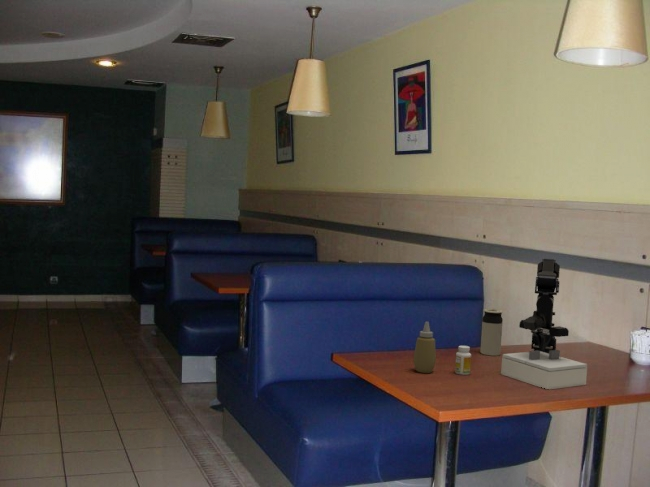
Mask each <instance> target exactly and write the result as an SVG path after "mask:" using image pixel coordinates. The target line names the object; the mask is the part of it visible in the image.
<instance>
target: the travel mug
mask: <svg viewBox="0 0 650 487" xmlns="http://www.w3.org/2000/svg"><path fill="white" fill-rule="evenodd" d="M483 312H484V315H483V317H482V321H481V323H482V325H481V339H480V351H479V353H480V354H481V355H484V356H490V357H491V356H493V357H497V356H499V355H501V349H502V348H501V347H502V334H503V320H504V319H503V317H502V314H503V310H501V309H494V308H485V309H483Z"/></svg>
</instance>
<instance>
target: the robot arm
mask: <svg viewBox="0 0 650 487" xmlns="http://www.w3.org/2000/svg"><path fill="white" fill-rule="evenodd" d="M560 266H561V265H560V264H558V262H556V259H554V258H542V259H541V261H540V262H539V263H537V270H536V277H535V285H534V286H535V288H534V294H537V298H536V304H535V305H536V310H534V311H533V314H532V316H531V315H530V316H529V317H527V318H524V319H521V320H520V321H519V325H518V326H519V328H520V329H525V330H530V333H531V346H530V347H531V350H533V351H535V350H538V351H541V352H545V353H548V354H549V351H550V350H557V338H560V337H569V333H570V332H569V329H568V328H567V327H563V326H559V325H558V326H555V323H554V322H553V316H556V312H555V311H554V301H555V296H557V295H558V294H559V292H560V281H559V278H560ZM556 337H557V338H556Z"/></svg>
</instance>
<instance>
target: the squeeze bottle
mask: <svg viewBox="0 0 650 487" xmlns="http://www.w3.org/2000/svg"><path fill="white" fill-rule="evenodd" d="M433 336H434V332H433V331H431V328H430V322H429V321H425V322H424V325H423V329H422V330H421V331H419V336H418V337H417V338H416V342H415V349H414V354H413V364H414V369H415V371H417V372H418V373H422V374H428V373H432V372H433V371H434V368H435V366H436V362H437V356H436V339H435V338H433Z"/></svg>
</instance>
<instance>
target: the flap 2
mask: <svg viewBox="0 0 650 487" xmlns="http://www.w3.org/2000/svg"><path fill="white" fill-rule="evenodd" d="M560 352H561V350H559V349H556V350H550V351H549V359H542V360H532V361H526V364H528V365H531V366H534V367H537V368H541V369H544V370H547V371H556V370H565V369H574V368H583V367H586V368H588V363H585V362H582V361H576V360H574V359H570V358H566V357H564V356H563V357H562V356H560V355H561V354H560ZM559 357H562V358H559Z"/></svg>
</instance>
